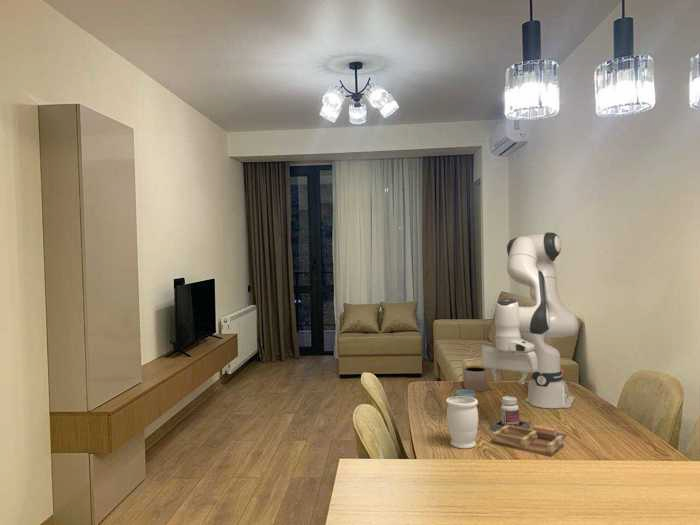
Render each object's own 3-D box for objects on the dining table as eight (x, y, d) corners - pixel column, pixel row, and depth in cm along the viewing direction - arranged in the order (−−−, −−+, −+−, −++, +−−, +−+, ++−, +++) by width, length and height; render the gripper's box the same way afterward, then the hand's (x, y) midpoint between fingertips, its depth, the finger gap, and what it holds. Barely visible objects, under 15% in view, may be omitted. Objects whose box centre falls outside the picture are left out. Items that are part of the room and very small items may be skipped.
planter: (484, 393, 240) (483, 372, 240) (461, 390, 246) (460, 370, 246) (490, 387, 249) (490, 367, 249) (468, 385, 255) (467, 366, 255)
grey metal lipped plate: (540, 431, 186) (540, 423, 186) (566, 436, 180) (566, 428, 180) (529, 439, 178) (529, 431, 178) (556, 444, 172) (555, 436, 172)
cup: (471, 414, 208) (470, 388, 208) (479, 420, 200) (478, 393, 200) (453, 416, 206) (452, 390, 206) (460, 422, 199) (460, 395, 199)
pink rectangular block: (536, 435, 180) (535, 424, 180) (556, 439, 176) (556, 428, 176) (533, 436, 178) (533, 426, 178) (554, 441, 174) (553, 430, 174)
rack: (505, 434, 184) (505, 424, 184) (563, 446, 171) (563, 435, 171) (491, 443, 175) (491, 432, 175) (551, 456, 162) (551, 445, 162)
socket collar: (503, 422, 197) (503, 417, 197) (530, 428, 190) (530, 422, 190) (490, 430, 189) (490, 424, 189) (518, 435, 182) (518, 430, 182)
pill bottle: (523, 429, 188) (522, 398, 188) (511, 433, 185) (510, 401, 185) (509, 425, 194) (508, 394, 194) (498, 428, 190) (497, 397, 190)
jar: (444, 440, 180) (442, 396, 180) (473, 438, 181) (472, 395, 181) (452, 451, 169) (451, 405, 169) (483, 449, 170) (482, 403, 170)
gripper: (477, 343, 194) (478, 380, 194) (532, 347, 180) (533, 387, 180) (485, 340, 198) (486, 377, 198) (539, 345, 185) (540, 384, 185)
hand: (509, 382), depth 189 cm, fingers open, 8 cm apart
